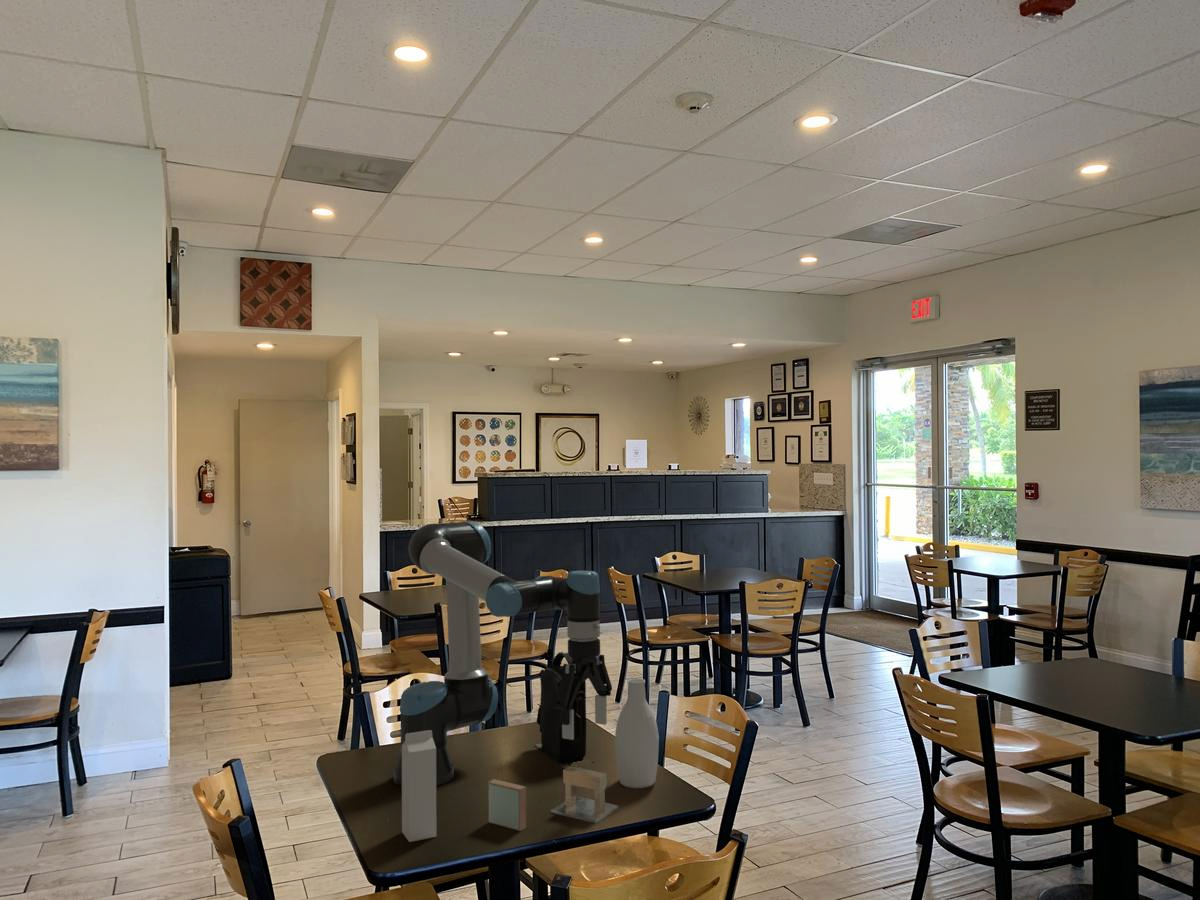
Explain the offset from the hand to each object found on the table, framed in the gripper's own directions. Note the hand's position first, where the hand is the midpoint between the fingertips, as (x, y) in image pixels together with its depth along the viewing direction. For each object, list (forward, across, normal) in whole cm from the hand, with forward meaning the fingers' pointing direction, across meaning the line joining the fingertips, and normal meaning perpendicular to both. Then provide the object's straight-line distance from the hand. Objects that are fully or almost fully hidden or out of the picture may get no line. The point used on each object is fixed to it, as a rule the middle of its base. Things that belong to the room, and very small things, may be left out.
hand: (584, 731), depth 201 cm
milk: (+18, -30, +23) cm, 42 cm away
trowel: (+18, 0, 0) cm, 18 cm away
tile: (+18, -16, +10) cm, 26 cm away
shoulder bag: (+18, +30, +27) cm, 44 cm away
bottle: (+18, +22, -1) cm, 29 cm away
